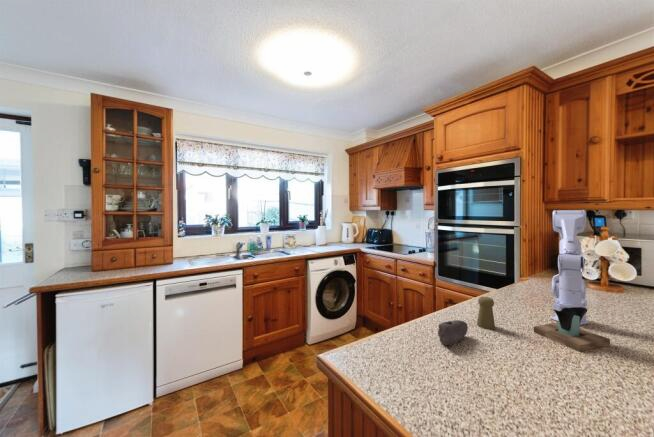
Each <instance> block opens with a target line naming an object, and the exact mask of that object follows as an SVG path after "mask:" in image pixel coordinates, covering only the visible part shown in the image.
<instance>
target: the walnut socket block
mask: <svg viewBox="0 0 654 437" xmlns="http://www.w3.org/2000/svg"><path fill="white" fill-rule="evenodd" d="M533 333H535V334H538V335H540V336H542V337H544V338H546V339H549V340H551V341H554V342H556V343H559V344H561V345H563V346H566V347H567V348H569V349H571V350H574V351H577V352H580V353H581V352H585V351H589V350H595V349H599V348H602V347H606V346H607V347H608V346H610V345H611V339H610V338H608V337H605V336H603V335H599V334H597V333H594V332H591V331H589V330H585V329H583V328H580V331H579V337H575V338H573V337H571V336H568V335H566V334H563V333H561V332H558V321H557V322H554V323H545V324H540V325H535V326H533Z"/></svg>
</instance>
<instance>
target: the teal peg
mask: <svg viewBox="0 0 654 437" xmlns="http://www.w3.org/2000/svg"><path fill="white" fill-rule="evenodd" d="M557 322H558V332H561V333H563V334H566V335H568V336H571V337H573V338H575V337H579V331H580V329H581V328H580V327H581V325H580V317H579V316H576V315H574V317H573V319H572V322H571V328H570V331H567V330H564V329H562V328H561V325H560V322H559V319H558V321H557Z"/></svg>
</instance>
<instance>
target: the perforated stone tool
mask: <svg viewBox="0 0 654 437" xmlns="http://www.w3.org/2000/svg"><path fill="white" fill-rule="evenodd" d="M468 330H469V328H468V324H467V323H466V322H465V321H464V320H460V319H459V320H457V319H454V320H448V321H443V322H441V323H439V324H438V331H437V335H438V337H439V342H441V343H442V344H443V345H444V346H451V345H454V344H456V343H458V342H459V341H461V340H462V339H464V338H465V336H466V335H467V333H468Z"/></svg>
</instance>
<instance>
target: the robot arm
mask: <svg viewBox="0 0 654 437" xmlns="http://www.w3.org/2000/svg"><path fill="white" fill-rule="evenodd" d="M586 225H587V211H586V210H585V209H579V210H576V209H575V210H573V209H572V210H569V209H568V210H561V209H560V210H556V209H554V210H553V211H552V229H553V232H556V233H559V237H560V240H559V245H558V246H559V254H558V257H557V267H558V274H556V275H555V274H554V275H553V277H551V279H552V280H551V295H552V296H553V297H554V298H555V299H554V301H555V303H552V309H553V311H554V313H555V316H550V317H549V319H551V320H554V321H557V322H558V319H559V322H560V325H561V328H562V329H564V330H567V331H570V328H571V322H572V319H573V317H574V315H576V316H579V317H580V326H582V325H587V324H590V322H589V321H588V320H587V312H588V308H587V305H588V304H587V303H588V302H587V301H588V300H587V299H586V297H587V296H586V294H587V291H586V282H585V280H584V279H583V273H584V271H585V263H586V262H585V256H584V253H583V252H582V243H581V241H580V239H578V238H577V235H578V234H580V233H583V232H585V231H584V230H585V229H586Z"/></svg>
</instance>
